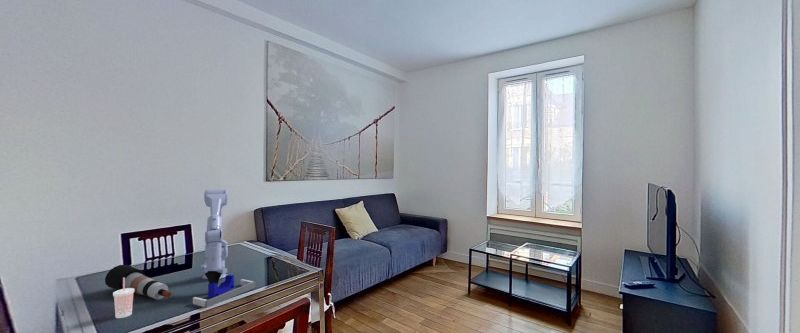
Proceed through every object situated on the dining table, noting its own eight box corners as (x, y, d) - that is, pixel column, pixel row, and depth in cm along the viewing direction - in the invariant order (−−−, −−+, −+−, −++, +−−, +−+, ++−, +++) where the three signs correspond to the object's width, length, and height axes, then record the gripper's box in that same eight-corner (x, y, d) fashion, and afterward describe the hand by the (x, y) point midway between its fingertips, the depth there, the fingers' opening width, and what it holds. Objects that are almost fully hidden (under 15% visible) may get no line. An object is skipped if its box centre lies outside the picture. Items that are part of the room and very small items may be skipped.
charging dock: (192, 304, 126) (192, 297, 126) (242, 284, 147) (242, 279, 147) (206, 307, 123) (206, 301, 123) (255, 287, 144) (255, 281, 144)
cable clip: (225, 287, 144) (225, 274, 144) (234, 288, 143) (234, 274, 143) (205, 298, 132) (205, 284, 132) (214, 298, 131) (214, 284, 131)
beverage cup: (138, 312, 119) (138, 275, 119) (120, 320, 113) (120, 281, 113) (126, 310, 120) (126, 274, 120) (108, 318, 114) (108, 279, 114)
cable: (162, 313, 128) (151, 296, 123) (111, 292, 140) (100, 276, 135) (185, 293, 136) (175, 277, 131) (135, 276, 148) (125, 259, 143)
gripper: (194, 257, 137) (194, 288, 137) (216, 261, 131) (216, 293, 131) (209, 253, 144) (209, 283, 144) (231, 256, 138) (231, 287, 138)
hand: (213, 287), depth 138 cm, fingers closed
